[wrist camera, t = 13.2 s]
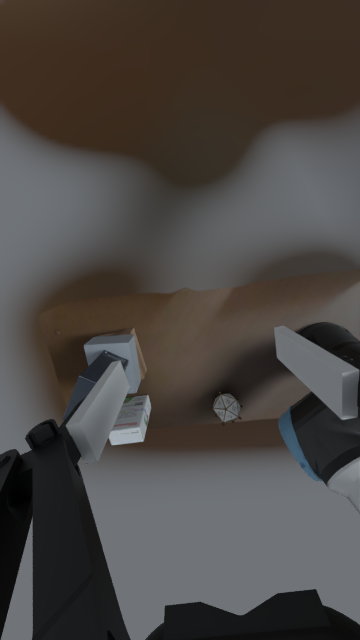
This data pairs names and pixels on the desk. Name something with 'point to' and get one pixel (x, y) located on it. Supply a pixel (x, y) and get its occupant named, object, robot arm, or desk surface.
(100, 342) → the grey slab
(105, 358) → the small box
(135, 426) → the ink box
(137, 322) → the desk surface
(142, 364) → the walnut slab
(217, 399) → the game die
